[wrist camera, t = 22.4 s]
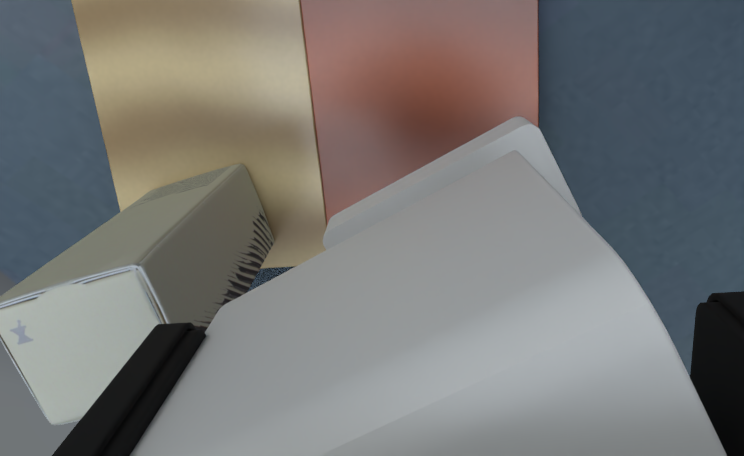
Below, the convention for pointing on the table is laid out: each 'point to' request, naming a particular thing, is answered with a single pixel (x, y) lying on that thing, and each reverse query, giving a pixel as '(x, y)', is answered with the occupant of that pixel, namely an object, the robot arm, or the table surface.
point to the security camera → (444, 333)
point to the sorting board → (302, 94)
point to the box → (133, 286)
